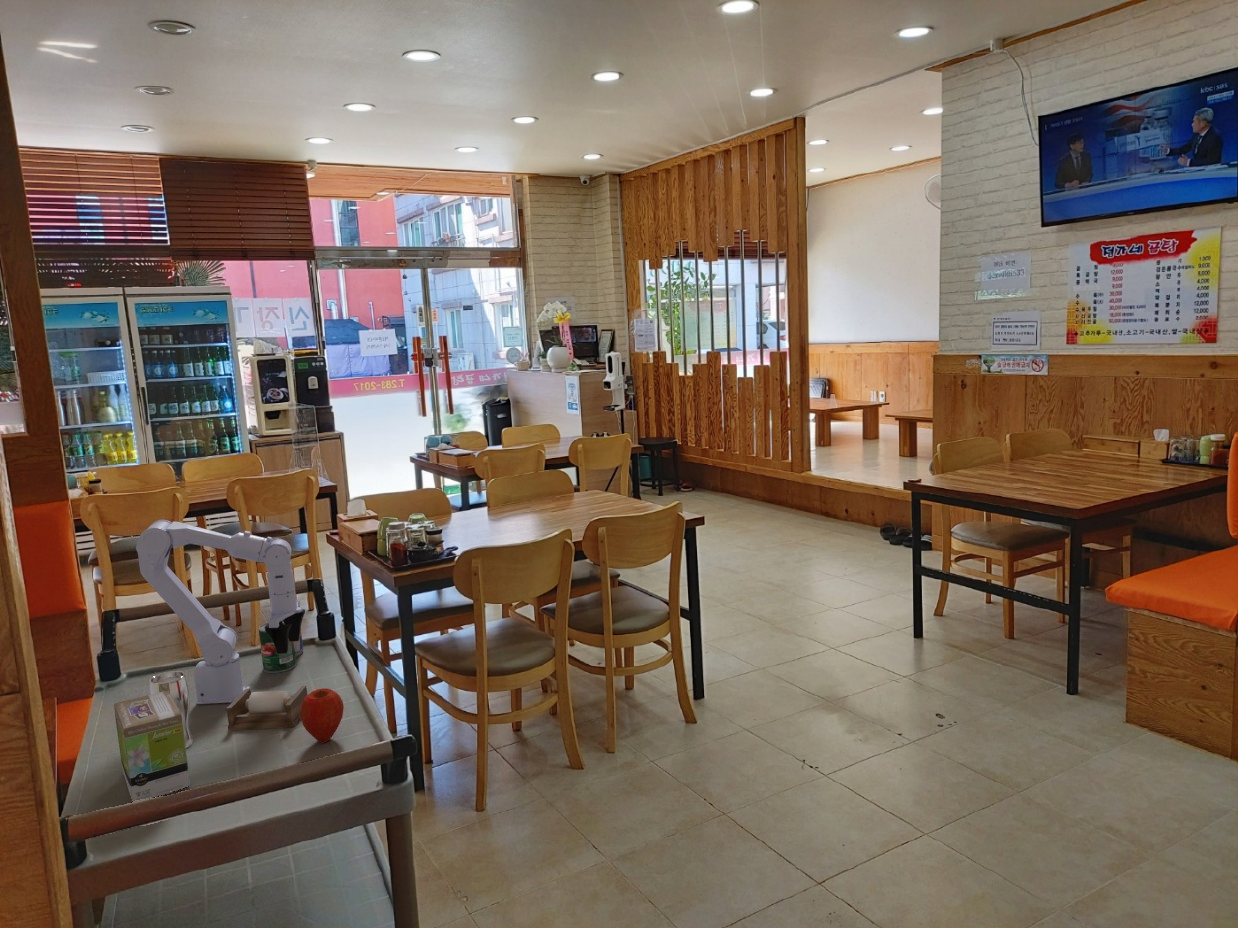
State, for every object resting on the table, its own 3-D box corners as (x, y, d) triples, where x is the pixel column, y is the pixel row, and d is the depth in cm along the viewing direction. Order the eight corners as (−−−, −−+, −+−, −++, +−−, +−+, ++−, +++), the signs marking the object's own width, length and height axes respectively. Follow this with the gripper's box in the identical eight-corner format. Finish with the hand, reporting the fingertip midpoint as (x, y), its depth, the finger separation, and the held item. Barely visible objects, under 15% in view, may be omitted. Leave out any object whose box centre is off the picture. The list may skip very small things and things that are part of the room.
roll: (244, 720, 190) (241, 699, 188) (253, 708, 194) (250, 688, 193) (288, 718, 190) (284, 697, 188) (296, 706, 194) (292, 685, 193)
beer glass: (203, 739, 183) (193, 671, 181) (176, 755, 177) (166, 685, 174) (177, 736, 186) (167, 668, 183) (150, 751, 179) (139, 682, 177)
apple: (350, 743, 178) (345, 692, 177) (307, 754, 174) (301, 703, 173) (342, 727, 186) (337, 678, 184) (300, 737, 182) (294, 688, 180)
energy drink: (299, 657, 228) (293, 612, 226) (278, 657, 228) (273, 613, 226) (306, 649, 233) (301, 605, 231) (286, 650, 233) (281, 606, 231)
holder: (228, 730, 187) (225, 708, 186) (247, 709, 197) (244, 688, 196) (293, 726, 187) (291, 704, 186) (309, 706, 197) (307, 685, 196)
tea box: (192, 787, 164) (182, 712, 162) (132, 806, 158) (120, 729, 156) (178, 757, 176) (169, 687, 174) (122, 773, 171) (111, 702, 168)
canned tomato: (256, 672, 219) (251, 630, 217) (275, 660, 226) (270, 619, 225) (284, 673, 217) (279, 631, 215) (302, 661, 224) (298, 620, 223)
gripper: (288, 600, 198) (294, 657, 200) (309, 581, 212) (315, 634, 214) (256, 601, 198) (263, 659, 200) (280, 582, 212) (286, 636, 214)
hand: (288, 646), depth 207 cm, fingers open, 7 cm apart
